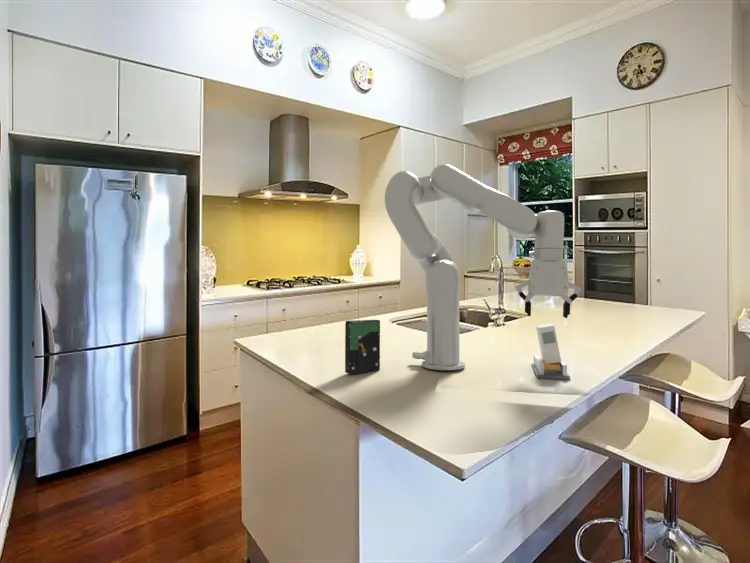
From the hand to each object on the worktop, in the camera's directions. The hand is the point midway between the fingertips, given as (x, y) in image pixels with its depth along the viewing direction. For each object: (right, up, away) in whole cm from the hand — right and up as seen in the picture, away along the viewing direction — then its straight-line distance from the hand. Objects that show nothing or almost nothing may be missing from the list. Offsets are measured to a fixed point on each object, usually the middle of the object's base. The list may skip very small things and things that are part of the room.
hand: (546, 316), depth 124 cm
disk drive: (-52, -16, +2) cm, 54 cm away
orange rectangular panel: (+1, -14, 0) cm, 14 cm away
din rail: (+1, -16, 0) cm, 16 cm away
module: (+1, -12, 0) cm, 12 cm away
